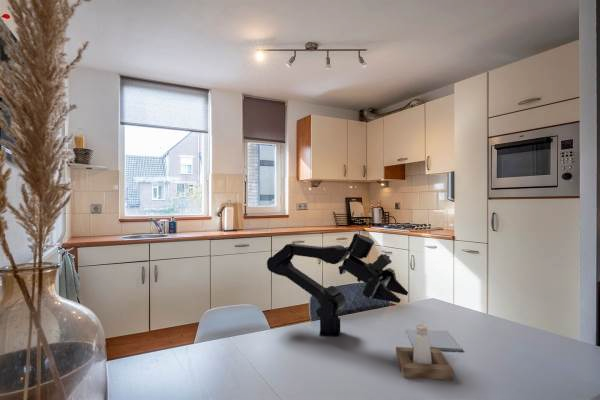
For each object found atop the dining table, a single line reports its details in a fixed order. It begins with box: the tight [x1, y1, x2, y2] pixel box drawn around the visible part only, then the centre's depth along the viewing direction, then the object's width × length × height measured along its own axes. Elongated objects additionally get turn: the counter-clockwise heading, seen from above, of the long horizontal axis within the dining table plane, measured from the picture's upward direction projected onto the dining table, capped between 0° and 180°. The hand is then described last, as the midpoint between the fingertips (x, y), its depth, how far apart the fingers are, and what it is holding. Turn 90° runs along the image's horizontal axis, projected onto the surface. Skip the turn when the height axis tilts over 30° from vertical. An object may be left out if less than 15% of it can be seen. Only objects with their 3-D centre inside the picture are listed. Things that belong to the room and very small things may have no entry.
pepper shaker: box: [412, 324, 433, 364], centre depth 88 cm, size 5×5×11 cm
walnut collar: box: [395, 346, 454, 381], centre depth 88 cm, size 12×12×2 cm
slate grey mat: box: [404, 328, 463, 352], centre depth 105 cm, size 14×14×1 cm
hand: (404, 297), depth 100 cm, fingers open, 9 cm apart
